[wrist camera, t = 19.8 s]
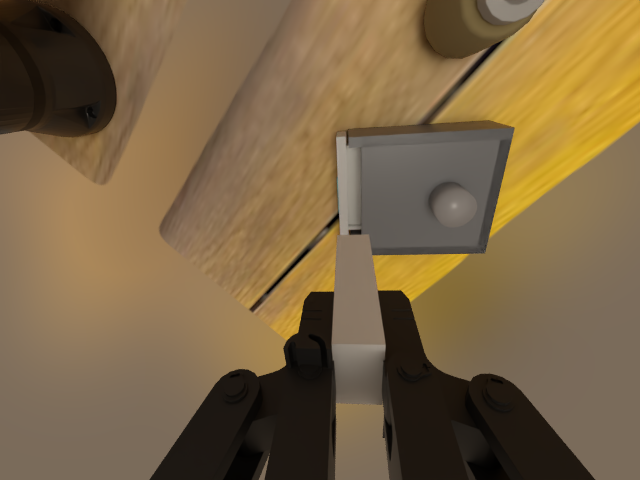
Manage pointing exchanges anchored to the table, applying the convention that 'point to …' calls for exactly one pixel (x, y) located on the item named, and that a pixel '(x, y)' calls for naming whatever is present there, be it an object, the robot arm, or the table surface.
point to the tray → (348, 184)
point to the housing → (430, 185)
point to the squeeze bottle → (474, 23)
